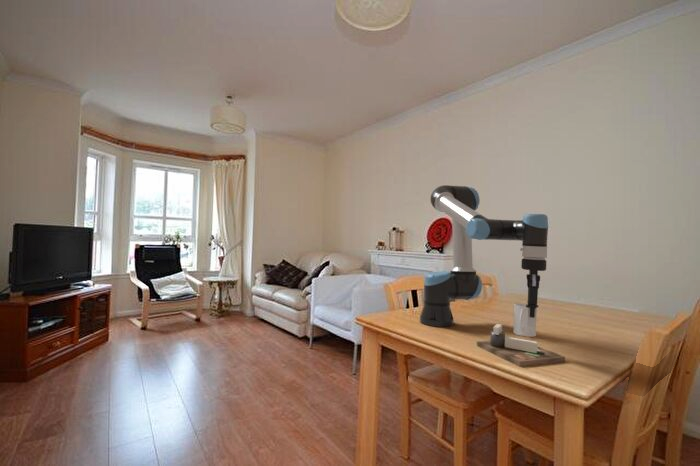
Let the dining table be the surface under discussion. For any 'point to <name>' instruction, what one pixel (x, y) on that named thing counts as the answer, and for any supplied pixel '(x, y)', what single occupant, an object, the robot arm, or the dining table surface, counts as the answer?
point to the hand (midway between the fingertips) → (531, 326)
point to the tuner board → (522, 355)
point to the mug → (522, 321)
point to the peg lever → (511, 341)
